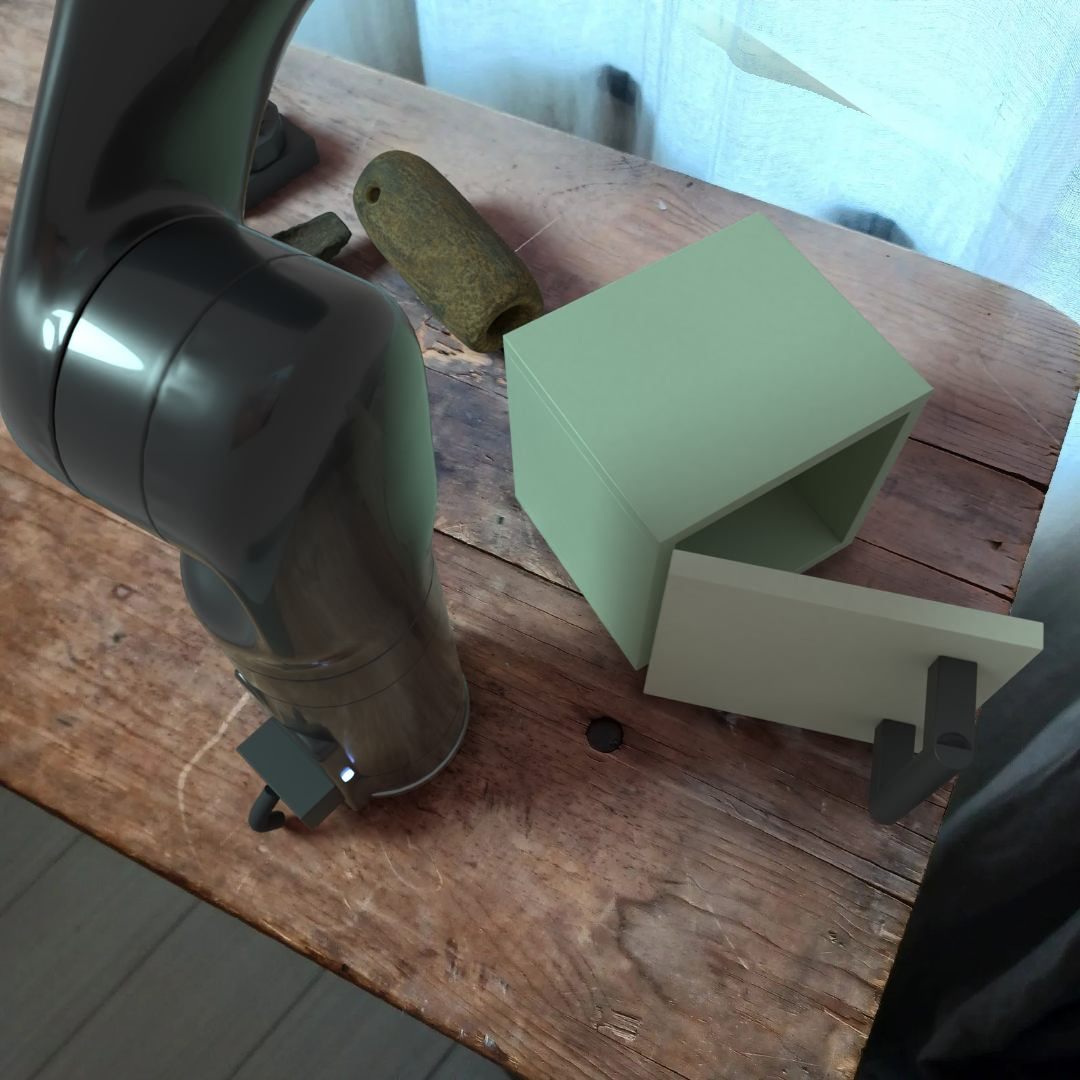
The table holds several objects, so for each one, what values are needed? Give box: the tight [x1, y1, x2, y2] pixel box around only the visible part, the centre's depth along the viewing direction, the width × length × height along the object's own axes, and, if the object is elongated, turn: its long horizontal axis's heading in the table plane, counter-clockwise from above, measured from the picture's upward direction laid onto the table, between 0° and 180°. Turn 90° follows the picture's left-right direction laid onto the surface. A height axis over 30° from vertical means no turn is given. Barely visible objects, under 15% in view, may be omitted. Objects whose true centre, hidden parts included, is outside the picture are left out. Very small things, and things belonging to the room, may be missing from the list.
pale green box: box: [503, 210, 935, 671], centre depth 54 cm, size 13×15×15 cm
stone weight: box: [352, 149, 545, 354], centre depth 66 cm, size 15×7×7 cm, turn 40°
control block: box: [244, 99, 321, 214], centre depth 73 cm, size 8×7×4 cm
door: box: [642, 549, 1045, 826], centre depth 47 cm, size 6×15×15 cm, turn 77°
